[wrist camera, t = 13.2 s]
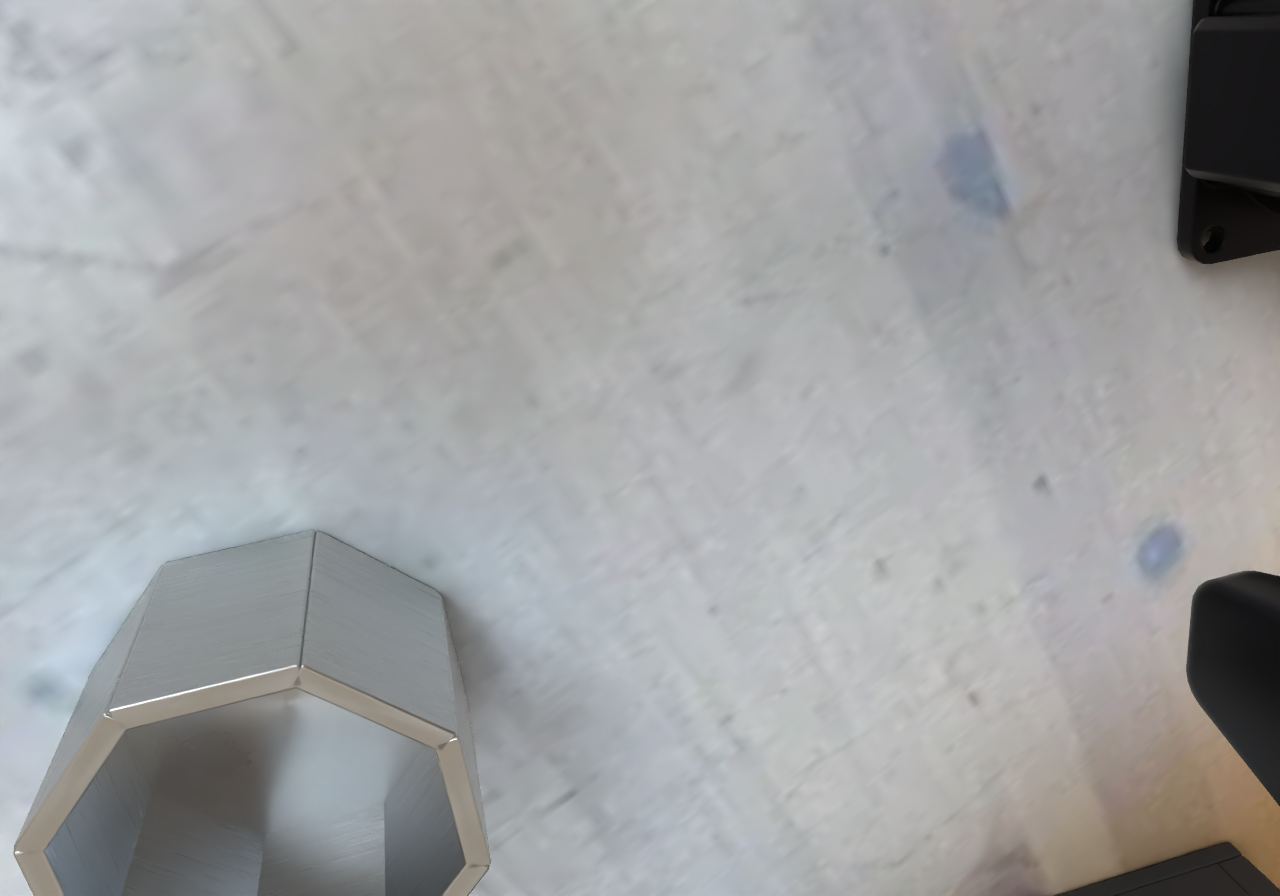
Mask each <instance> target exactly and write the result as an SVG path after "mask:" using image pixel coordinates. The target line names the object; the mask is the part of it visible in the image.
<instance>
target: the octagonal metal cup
mask: <svg viewBox="0 0 1280 896" xmlns="http://www.w3.org/2000/svg"><path fill="white" fill-rule="evenodd" d="M14 849H15V850H14V856H15V858H16V860H17V862H18V864H19V866H20V868H21V871H22V873H23V875H24V877H25V879H26V881H27V883H28V885H29V887H30V889H31V891H32V893H33V895H34V896H468V895H469V894H470V892H471V891H472V890H473V888H474V887H475V886H476V885H477V883H478V882H479V881H480V879H481V878H482V877H483V876H484V874H485V873H486V872H487V870H488V869H489V866H490V865H489V864H490V862H491V858H490V851H489V844H488V837H487V830H486V823H485V816H484V810H483V803H482V796H481V789H480V782H479V775H478V768H477V761H476V754H475V747H474V740H473V733H472V727H471V720H470V713H469V706H468V701H467V697H466V693H465V688H464V684H463V680H462V676H461V672H460V668H459V664H458V660H457V656H456V652H455V648H454V644H453V640H452V636H451V631H450V627H449V623H448V619H447V615H446V611H445V607H444V603H443V599H442V596H441V595H439V593H438V591H436V590H434V589H432V588H430V587H428V586H426V585H424V584H422V583H420V582H418V581H416V580H414V579H412V578H410V577H408V576H406V575H404V574H403V573H401V572H399V571H397V570H395V569H393V568H391V567H389V566H387V565H385V564H383V563H381V562H379V561H377V560H375V559H373V558H371V557H369V556H367V555H366V554H364V553H362V552H360V551H358V550H356V549H354V548H352V547H350V546H348V545H346V544H344V543H342V542H340V541H338V540H336V539H334V538H332V537H330V536H328V535H327V534H325V533H323V532H321V531H316V532H315V531H314V530H309V531H305V532H300V533H296V534H291V535H287V536H282V537H278V538H273V539H269V540H264V541H260V542H255V543H251V544H246V545H242V546H237V547H233V548H228V549H224V550H220V551H215V552H211V553H206V554H202V555H197V556H193V557H188V558H184V559H179V560H175V561H170V562H167V563H166V564H165V565H163V566H161V567H160V569H159V570H158V572H157V573H156V575H155V576H154V578H153V579H152V581H151V582H150V584H149V586H148V587H147V589H146V590H145V592H144V593H143V595H142V596H141V598H140V599H139V601H138V602H137V604H136V605H135V607H134V608H133V610H132V611H131V613H130V614H129V616H128V617H127V619H126V620H125V622H124V623H123V625H122V626H121V628H120V630H119V631H118V633H117V634H116V636H115V637H114V639H113V640H112V642H111V643H110V645H109V646H108V648H107V649H106V651H105V652H104V654H103V655H102V657H101V658H100V660H99V661H98V663H97V664H96V666H95V667H94V669H93V670H92V672H91V674H90V676H89V678H88V680H87V682H86V685H85V687H84V689H83V691H82V694H81V696H80V698H79V700H78V703H77V705H76V707H75V709H74V712H73V714H72V716H71V719H70V721H69V723H68V725H67V728H66V730H65V732H64V734H63V737H62V739H61V741H60V743H59V746H58V748H57V750H56V752H55V755H54V757H53V759H52V762H51V764H50V766H49V768H48V771H47V773H46V775H45V777H44V780H43V782H42V784H41V786H40V789H39V791H38V793H37V795H36V798H35V800H34V802H33V805H32V807H31V809H30V811H29V814H28V816H27V818H26V820H25V823H24V825H23V827H22V829H21V832H20V834H19V836H18V838H17V841H16V843H15V845H14Z"/></svg>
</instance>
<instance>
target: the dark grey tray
mask: <svg viewBox="0 0 1280 896" xmlns="http://www.w3.org/2000/svg"><path fill="white" fill-rule="evenodd" d="M1059 896H1280V890H1279V889H1278V888H1277V887H1276V886H1275V885H1274V884H1273V883H1272V882H1271V881H1270V880H1269V879H1268V878H1267V877H1266V876H1265V875H1263V874H1262V873H1261V872H1260V871H1259V870H1258V869H1257V868H1256V867H1255V866H1254V865H1253V864H1252V863H1251V862H1250V861H1249V860H1248V859H1246V858H1245V857H1244V856H1242V854H1241V852H1239V851H1238V850H1237V849H1236V848H1235V847H1234V846H1233V845H1232V844H1231V843H1230V842H1226V843H1223V844H1220V845H1216V846H1213V847H1210V848H1207V849H1204V850H1201V851H1198V852H1194V853H1191V854H1188V855H1185V856H1182V857H1179V858H1176V859H1172V860H1169V861H1166V862H1163V863H1160V864H1157V865H1153V866H1150V867H1147V868H1144V869H1141V870H1138V871H1135V872H1131V873H1128V874H1125V875H1122V876H1119V877H1116V878H1113V879H1109V880H1106V881H1103V882H1100V883H1097V884H1094V885H1090V886H1087V887H1084V888H1081V889H1078V890H1075V891H1072V892H1068V893H1065V894H1062V895H1059Z"/></svg>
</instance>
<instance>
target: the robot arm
mask: <svg viewBox="0 0 1280 896" xmlns="http://www.w3.org/2000/svg"><path fill="white" fill-rule="evenodd" d="M1209 228H1210V232H1211V233H1210V237H1209V240H1208V241H1207V242H1206V244H1205V245H1204V246H1203V243H1202V241H1203V237H1204V234H1205V233H1206V232H1207V231H1208V229H1209ZM1177 243H1178V250H1179V251H1180V253H1181V255H1182V256H1183V257H1185V258H1187V259H1188V260H1191V261H1195V262H1199V263H1202V264H1214V263H1219V262H1223V261H1228V260H1233V259H1237V258H1242V257H1247V256H1252V255H1256V254H1261V253H1266V252H1270V251H1275V250H1280V0H1194V1H1193V16H1192V30H1191V45H1190V59H1189V74H1188V89H1187V103H1186V118H1185V133H1184V147H1183V162H1182V176H1181V191H1180V206H1179V220H1178V235H1177ZM1186 673H1187V679H1188V683H1189V685H1190V688H1191V691H1192V693H1193V695H1194V697H1195V699H1196V700H1197V702H1198V703H1199V705H1200V706H1201V707H1202V709H1203V710H1204V711H1205V712H1206V714H1207V715H1208V716H1209V717H1210V719H1211V720H1212V721H1213V722H1214V724H1215V725H1216V726H1217V728H1218V729H1219V730H1220V731H1221V733H1222V734H1223V735H1224V736H1225V738H1226V739H1227V740H1228V741H1229V743H1230V744H1231V745H1232V746H1233V748H1234V749H1235V750H1236V752H1237V753H1238V754H1239V755H1240V757H1241V758H1242V759H1243V760H1244V762H1245V763H1246V764H1247V765H1248V767H1249V768H1250V769H1251V770H1252V772H1253V773H1254V774H1255V776H1256V777H1257V778H1258V779H1259V781H1260V782H1261V783H1262V784H1263V786H1264V787H1265V788H1266V789H1267V791H1268V792H1269V793H1270V794H1271V796H1272V797H1273V798H1274V800H1275V801H1276V802H1277V803H1278V805H1279V806H1280V576H1276V575H1271V574H1267V573H1263V572H1257V571H1242V572H1238V573H1234V574H1230V575H1227V576H1223V577H1219V578H1216V579H1212V580H1208V581H1206V582H1204V583H1203V584H1201V585H1200V586H1199V587H1198V588H1197V590H1196V592H1195V593H1194V595H1193V599H1192V606H1191V617H1190V629H1189V641H1188V652H1187V664H1186Z"/></svg>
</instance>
